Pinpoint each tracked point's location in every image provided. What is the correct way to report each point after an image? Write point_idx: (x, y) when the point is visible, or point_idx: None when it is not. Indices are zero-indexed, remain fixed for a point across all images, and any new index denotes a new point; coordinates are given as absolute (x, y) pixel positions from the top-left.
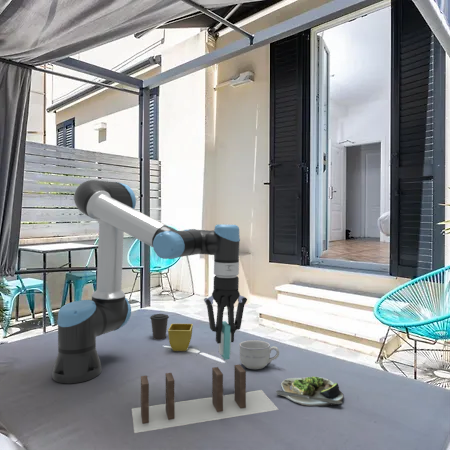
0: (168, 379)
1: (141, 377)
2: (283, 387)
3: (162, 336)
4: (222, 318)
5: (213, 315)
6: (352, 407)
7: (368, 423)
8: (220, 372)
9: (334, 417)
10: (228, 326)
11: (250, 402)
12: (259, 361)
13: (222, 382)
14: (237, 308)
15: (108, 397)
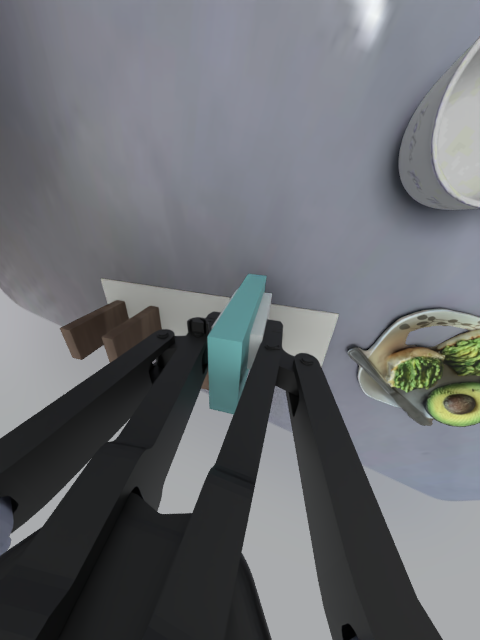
0: (110, 361)
1: (62, 333)
2: (385, 337)
3: None
4: (184, 424)
5: (113, 432)
6: (442, 424)
7: (411, 451)
8: (208, 382)
9: (381, 424)
10: (227, 411)
11: (286, 343)
12: (444, 209)
13: None
14: (326, 499)
15: (52, 215)
